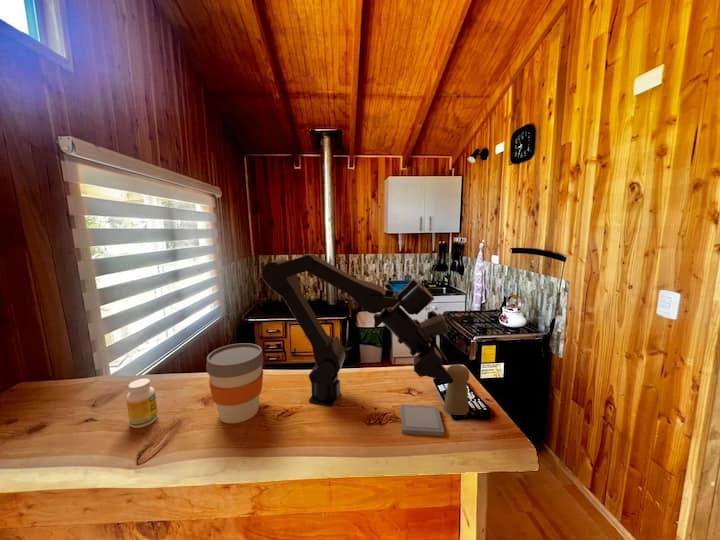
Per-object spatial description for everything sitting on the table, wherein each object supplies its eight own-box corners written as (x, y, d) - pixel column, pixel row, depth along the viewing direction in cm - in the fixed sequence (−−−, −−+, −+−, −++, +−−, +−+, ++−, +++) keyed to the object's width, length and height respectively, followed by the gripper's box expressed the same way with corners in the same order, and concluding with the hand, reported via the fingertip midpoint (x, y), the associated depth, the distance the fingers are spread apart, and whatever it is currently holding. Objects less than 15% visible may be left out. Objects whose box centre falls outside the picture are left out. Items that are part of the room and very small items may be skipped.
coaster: (402, 433, 65) (402, 429, 65) (400, 408, 74) (400, 404, 74) (444, 436, 64) (444, 431, 64) (437, 410, 73) (437, 406, 73)
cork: (471, 418, 70) (473, 374, 68) (444, 415, 71) (446, 372, 69) (467, 403, 76) (469, 362, 74) (442, 400, 77) (444, 360, 75)
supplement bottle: (133, 417, 71) (127, 379, 69) (159, 411, 73) (155, 374, 71) (127, 431, 66) (121, 391, 64) (156, 424, 68) (151, 385, 67)
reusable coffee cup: (276, 410, 73) (273, 352, 71) (224, 437, 64) (218, 371, 62) (251, 390, 82) (247, 338, 79) (202, 412, 72) (196, 353, 70)
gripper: (431, 316, 61) (485, 370, 61) (425, 295, 79) (466, 336, 80) (392, 351, 64) (444, 402, 64) (395, 322, 82) (436, 362, 82)
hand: (449, 372), depth 72 cm, fingers open, 9 cm apart
